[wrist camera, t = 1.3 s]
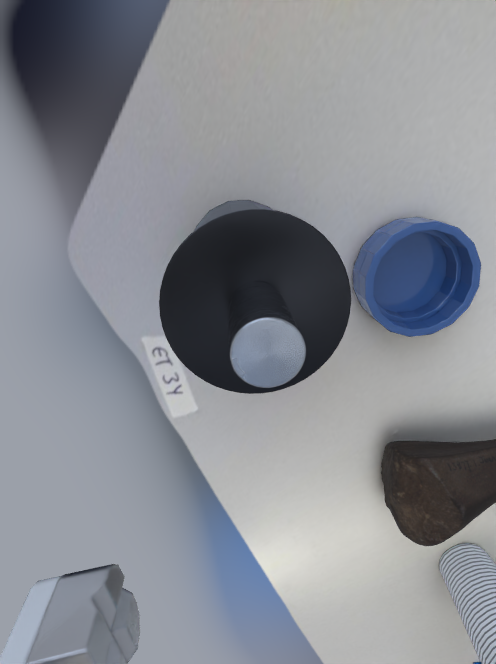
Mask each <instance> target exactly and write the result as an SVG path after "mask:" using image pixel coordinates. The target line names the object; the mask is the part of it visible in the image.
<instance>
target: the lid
mask: <svg viewBox="0 0 496 664" xmlns="http://www.w3.org/2000/svg"><path fill="white" fill-rule="evenodd" d="M350 305H351V293H350V285H349V279H348V275H347V272H346V269H345V266H344V264H343V262H342V260H341V258H340V256H339V254H338V253H337V251H336V250H335V248H334V247H333V245H332V244H331V243H330V242H329V241H328V240H327V238H326V237H325V236H324V235H323V234H321V233H320V232H319V231H318V230H317V229H315V228H314V227H313V226H311V225H310V224H308V223H306V222H305V221H303V220H301V219H299V218H297V217H295V216H292V215H290V214H287V213H284V212H280V211H276V210H269V209H244V210H237V211H233V212H230V213H226V214H223V215H221V216H218V217H216V218H214V219H212V220H210V221H208V222H207V223H205V224H203V225H202V226H200V227H199V228H198V229H196V230H195V231H194V232H193V233H191V234H190V235H189V236H188V237H187V238H186V239H185V240H184V241H183V243H182V244H181V245H180V246H179V248H178V249H177V251H176V252H175V253H174V255H173V257H172V258H171V260H170V262H169V264H168V266H167V268H166V271H165V274H164V277H163V280H162V285H161V289H160V300H159V306H160V317H161V322H162V327H163V330H164V333H165V336H166V338H167V340H168V342H169V344H170V346H171V348H172V350H173V351H174V353H175V354H176V356H177V357H178V358H179V360H180V361H181V362H182V363H183V364H184V365H185V366H186V367H187V368H188V369H189V370H190V371H192V372H193V373H194V374H195V375H197V376H198V377H200V378H201V379H203V380H204V381H206V382H208V383H210V384H212V385H214V386H216V387H219V388H222V389H225V390H229V391H233V392H238V393H249V394H251V393H266V392H273V391H277V390H281V389H284V388H287V387H289V386H292V385H295V384H296V383H298V382H300V381H302V380H304V379H306V378H307V377H308V376H310V375H311V374H313V373H314V372H315V371H317V370H318V369H319V368H320V367H321V366H322V365H323V364H324V363H325V362H326V361H327V360H328V359H329V358H330V356H331V355H332V354H333V352H334V351H335V349H336V348H337V346H338V345H339V343H340V341H341V339H342V337H343V335H344V332H345V329H346V326H347V323H348V319H349V314H350Z"/></svg>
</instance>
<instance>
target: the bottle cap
mask: <svg viewBox="0 0 496 664" xmlns="http://www.w3.org/2000/svg"><path fill="white" fill-rule="evenodd" d="M480 270H481V262H480V259H479V256H478V253H477V250H476V247H475V244H474V243H473V242H472V241H471V240H470V239H469V238H468V237H467V236H466V235H465V234H464V233H463V232H462V231H461V230H460V229H459V228H458V227H455V226H451V225H448V224H445V223H442V222H439V221H435V220H430V219H426V218H421V217H413V218H404V219H397V220H395V221H393V222H391V223H389V224H387V225H385V226H384V227H382V228H380V229H378V230H377V231H375V233H374V234H373V235H372V236H371V237H370V238H369V239H368V241H367V242H366V243H365V244H364V245H363V246H362V248H361V250H360V252H359V255H358V257H357V260H356V263H355V265H354V269H353V282H354V291H355V293H356V295H357V297H358V300H359V302H360V304H361V306H362V307H363V308H364V309H365V310H366V311H367V312H368V313H369V314H370V315H371V316H372V317H373V318H374V319H375V320H377V321H378V322H379V323H380V324H381V325H383V326H384V327H385V328H386V329H387V330H389V331H390V332H394V333H398V334H401V335H405V336H408V337H412V336H421V335H429V334H433V333H435V332H437V331H439V330H441V329H443V328H445V327H447V326H449V325H451V324H453V323H454V322H455V321H456V320H457V319H458V318H459V317H460V316H461V315H462V314H463V313H464V312H465V311H466V310H467V309H468V307H469V306H470V304H471V302H472V300H473V298H474V296H475V294H476V292H477V290H478V287H479V281H480Z"/></svg>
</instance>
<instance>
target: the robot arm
mask: <svg viewBox="0 0 496 664" xmlns="http://www.w3.org/2000/svg"><path fill="white" fill-rule="evenodd" d="M123 582H124V575H123V573H122V571H121V569H120V567H119V565H115V564H112V565H107V566H102V567H98V568H93V569H88V570H84V571H79V572H74V573H70V574H65V575H63V576H59V577H54V578H49V579H44V580H40V581H37V582H36V584H34V585H33V587H32V588H31V589H30V591H29V593H28V595H27V598H26V600H25V602H24V604H23V607H22V609H21V611H20V613H19V616H18V618H17V620H16V622H15V625H14V627H13V629H12V631H11V634H10V636H9V638H8V640H7V643H6V645H5V647H4V649H3V651H2V654H1V656H0V664H127V663H128V662H129V661H130V659H131V658H132V656H133V655H134V653H135V652H136V650H137V649H138V641H139V635H140V620H139V619H140V618H139V611H138V606H137V602H136V600H135V598H134V596H133V594H132V593H131V592H130V591H128V590H126V589H124V588H122V586H123Z"/></svg>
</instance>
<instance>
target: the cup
mask: <svg viewBox="0 0 496 664" xmlns="http://www.w3.org/2000/svg"><path fill="white" fill-rule="evenodd" d="M439 570H440V572H441V575H442V577H443V579H444V581H445V583H446V586H447V588H448V590H449V592H450V595H451V597H452V599H453V601H454V604H455V606H456V608H457V610H458V613H459V615H460V617H461V619H462V621H463V624H464V626H465V628H466V630H467V633H468V635H469V637H470V639H471V642H472V644H473V646H474V648H475V650H476V653H477V655H478V657H479V659H480V662H481V664H496V564H495V563H494V561H493V560H492V559H491V558H490V556H489V555H488V554H487V553H486V552H485V550H483V549H482V548H481V547H479V546H478V545H475V544H470V543H466V544H459V545H457V546H454V547H452V548H450V549H449V550H448V551H446V552H445V553H444V554H443V556H442V557H441V559H440V562H439Z"/></svg>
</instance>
